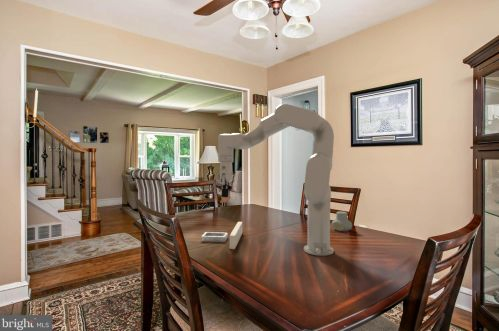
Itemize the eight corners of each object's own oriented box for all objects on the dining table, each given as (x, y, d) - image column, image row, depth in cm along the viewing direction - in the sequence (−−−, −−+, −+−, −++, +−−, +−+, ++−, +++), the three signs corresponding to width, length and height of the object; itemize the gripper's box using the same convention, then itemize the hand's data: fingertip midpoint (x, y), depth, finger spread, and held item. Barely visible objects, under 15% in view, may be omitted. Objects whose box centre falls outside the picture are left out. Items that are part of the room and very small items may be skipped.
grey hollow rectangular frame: (224, 242, 131) (224, 237, 131) (201, 241, 133) (201, 236, 133) (227, 237, 139) (227, 232, 139) (205, 236, 140) (205, 232, 140)
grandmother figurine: (217, 203, 134) (217, 177, 133) (219, 201, 137) (219, 176, 136) (232, 203, 133) (232, 177, 132) (234, 201, 136) (234, 176, 135)
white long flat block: (234, 249, 122) (234, 235, 121) (229, 248, 122) (229, 235, 122) (242, 232, 148) (242, 221, 147) (238, 232, 148) (238, 221, 148)
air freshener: (329, 229, 154) (329, 211, 154) (336, 226, 160) (337, 210, 159) (347, 233, 146) (347, 215, 146) (354, 230, 151) (354, 212, 151)
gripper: (230, 159, 125) (230, 199, 126) (236, 159, 142) (235, 194, 142) (214, 159, 126) (214, 198, 127) (221, 159, 143) (221, 194, 143)
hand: (225, 196), depth 135 cm, fingers closed on grandmother figurine, 3 cm apart
